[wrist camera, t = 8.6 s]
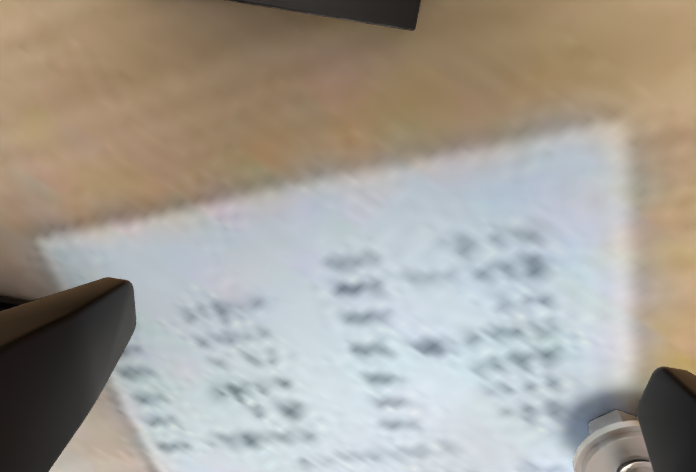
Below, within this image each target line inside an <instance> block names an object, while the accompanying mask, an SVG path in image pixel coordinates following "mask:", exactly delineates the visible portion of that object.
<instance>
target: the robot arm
mask: <svg viewBox="0 0 696 472" xmlns="http://www.w3.org/2000/svg"><path fill="white" fill-rule="evenodd" d="M135 325H136V313H135V300H134V289H133V285H132V283H131V282H129V281H128V280H123V279H117V278H111V277H106V278H103V279H100V280H96V281H93V282H90V283H87V284H84V285H81V286H78V287H75V288H72V289H68V290H65V291H62V292H59V293H56V294H53V295H50V296H47V297H44V298H41V299H37V300H34V301H31V302H30V301H25V300H20V299H15V298H9V297H4V296H0V472H48V471H49V470H50V469H51V467H52V466H53V464H54V463H55V461H56V460H57V458H58V457H59V456H60V454H61V453H62V451H63V450H64V448H65V447H66V445H67V444H68V443H69V441H70V440H71V438H72V437H73V435H74V434H75V432H76V431H77V430H78V428H79V427H80V425H81V424H82V422H83V421H84V419H85V418H86V416H87V415H88V413H89V412H90V410H91V409H92V407H93V405H94V404H95V402H96V400H97V399H98V397H99V395H100V393H101V392H102V390H103V388H104V386H105V384H106V382H107V381H108V379H109V377H110V375H111V373H112V371H113V370H114V368H115V366H116V364H117V362H118V360H119V358H120V357H121V355H122V353H123V351H124V349H125V347H126V346H127V344H128V342H129V340H130V338H131V336H132V334H133V332H134V329H135ZM637 417H638V421H639V425H640V428H641V431H642V435H643V438H644V442H645V445H646V448H647V452H648V455H649V458H650V462H651V465H652V469H653V472H696V376H695V375H693V374H692V373H690V372H688V371H686V370H682V369H676V368H669V367H659V368H657V369H656V370H655V371H654V372H653V374H652V376H651V378H650V380H649V382H648V384H647V386H646V388H645V390H644V392H643V394H642V396H641V398H640V400H639V403H638V407H637Z"/></svg>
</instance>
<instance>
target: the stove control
mask: <svg viewBox="0 0 696 472" xmlns="http://www.w3.org/2000/svg"><path fill="white" fill-rule="evenodd" d="M226 1H232V2H238V3H244V4H250V5H256V6H263V7H269V8H275V9H281V10H287V11H293V12H299V13H306V14H312V15H318V16H324V17H330V18H336V19H343V20H349V21H355V22H361V23H367V24H373V25H380V26H386V27H392V28H398V29H404V30H410V31H414V30H415V28H416V23H417V18H418V12H419V7H420V2H421V0H226Z"/></svg>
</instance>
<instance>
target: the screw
mask: <svg viewBox="0 0 696 472" xmlns="http://www.w3.org/2000/svg"><path fill="white" fill-rule="evenodd" d="M573 467H574V472H653V469H652V465H651V462H650V458H649V455H648V452H647V448H646V445H645V442H644V438H643V435H642V431H641V428H640V425H639V421H638V417H636V416H633V415H630V414H627V413H625V412H622V411H619V410H614V411H611V412H609V413H607V414H605V415H603V416H601V417H599V418H596V419H594V420H592V421H590V422H589V436H588V437H587V438H586V439H585V440H584V441H583V442H582V443H581V444H580V445H579V447H578V449H577V451H576V453H575V455H574V460H573Z"/></svg>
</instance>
